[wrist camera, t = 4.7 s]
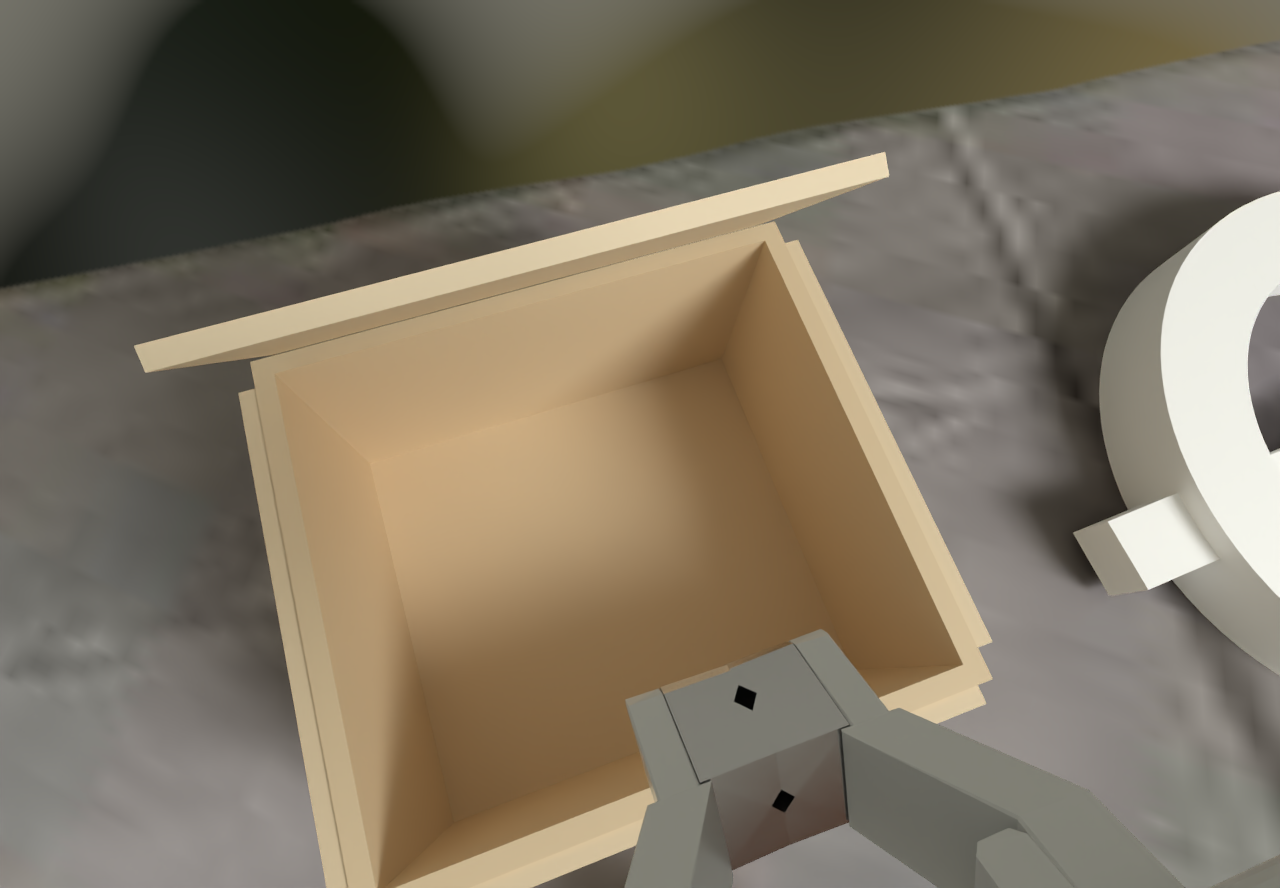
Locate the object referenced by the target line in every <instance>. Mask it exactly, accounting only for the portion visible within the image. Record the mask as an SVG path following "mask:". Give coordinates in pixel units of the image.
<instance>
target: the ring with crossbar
mask: <svg viewBox="0 0 1280 888" xmlns="http://www.w3.org/2000/svg"><path fill="white" fill-rule="evenodd" d="M1274 295H1280V192H1276V193H1273V194H1269V195H1267V196H1264V197H1262V198H1259V199H1256V200H1254V201H1252V202H1250V203H1248V204H1246V205H1244V206H1242V207H1240V208H1238V209H1237V210H1235V211H1233V212H1232V213H1230V214H1229V215H1227V216H1226V217H1224V218H1223V219H1222V220H1220V221H1219V222H1218V223H1216V224H1215V225H1214V226H1212V227H1211V228H1210V229H1208V230H1207V231H1206V232H1204V233H1203V234H1202V235H1200V236H1199V237H1198V238H1196V239H1195V240H1194V241H1192V242H1191V243H1190V244H1188V245H1187V246H1186V247H1184V248H1183V249H1182V250H1180V251H1179V252H1177V253H1176V254H1175V255H1173V256H1172V257H1171V258H1169V259H1168V260H1167V261H1165V262H1164V263H1163V264H1161V265H1160V266H1159V267H1157V268H1156V269H1155V270H1154V271H1153V272H1151V273H1150V274H1149V275H1148V276H1147V277H1146V278H1145V279H1144V280H1143V281H1142V282H1141V283H1140V284H1139V285H1138V286H1137V287H1136V288H1135V290H1134V291H1133V292H1132V293H1131V295H1130V296H1129V297H1128V299H1127V300H1126V302H1125V303H1124V305H1123V306H1122V308H1121V310H1120V312H1119V313H1118V315H1117V317H1116V319H1115V321H1114V324H1113V326H1112V328H1111V331H1110V333H1109V336H1108V339H1107V343H1106V346H1105V350H1104V354H1103V359H1102V365H1101V372H1100V386H1099V404H1100V417H1101V426H1102V432H1103V437H1104V443H1105V447H1106V451H1107V455H1108V459H1109V462H1110V465H1111V469H1112V472H1113V475H1114V478H1115V481H1116V483H1117V486H1118V488H1119V491H1120V493H1121V496H1122V498H1123V500H1124V502H1125V505H1126V507H1127V509H1128V510H1127V511H1125V512H1122V513H1120V514H1117V515H1115V516H1112V517H1110V518H1107V519H1105V520H1103V521H1100V522H1098V523H1095V524H1093V525H1090V526H1088V527H1085V528H1083V529H1081V530H1078V531H1076V532H1073V534H1074V536H1075V538H1076V539H1077V541H1078V543H1079V544H1080V546H1081V548H1082V550H1083V551H1084V553H1085V555H1086V557H1087V558H1088V560H1089V562H1090V563H1091V565H1092V567H1093V569H1094V570H1095V572H1096V574H1097V576H1098V577H1099V579H1100V581H1101V583H1102V584H1103V586H1104V588H1105V589H1106V591H1107V593H1108V595H1109V596H1115V595H1121V594H1127V593H1133V592H1139V591H1145V590H1149V589H1152V588H1154V587H1156V586H1158V585H1161V584H1163V583H1165V582H1168V581H1170V580H1173V582H1174V583H1175V584H1176V585H1177V586H1178V588H1179V589H1180V590H1181V591H1182V592H1183V593H1184V595H1185V596H1186V597H1187V598H1188V599H1189V600H1190V601H1191V602H1192V604H1193V605H1194V606H1195V607H1196V608H1197V609H1198V610H1199V611H1200V612H1201V613H1202V614H1203V615H1204V616H1205V617H1206V618H1207V619H1208V620H1209V621H1210V622H1211V623H1212V624H1213V625H1214V626H1216V627H1217V628H1218V629H1219V630H1220V631H1221V632H1222V633H1223V634H1224V635H1225V636H1227V637H1228V638H1229V639H1230V640H1231V641H1233V642H1234V643H1235V644H1236V645H1237V646H1238V647H1240V648H1241V649H1242V650H1244V651H1245V652H1246V653H1248V654H1249V655H1250V656H1252V657H1253V658H1254V659H1256V660H1257V661H1258V662H1260V663H1261V664H1263V665H1264V666H1266V667H1267V668H1269V669H1270V670H1272V671H1273V672H1275V673H1276V674H1278V675H1279V676H1280V448H1279V449H1277V450H1274V451H1272V452H1269V450H1268V448H1267V446H1266V444H1265V442H1264V439H1263V437H1262V434H1261V432H1260V429H1259V426H1258V423H1257V420H1256V417H1255V414H1254V410H1253V406H1252V402H1251V396H1250V391H1249V383H1248V368H1247V361H1248V348H1249V341H1250V337H1251V332H1252V329H1253V326H1254V323H1255V320H1256V317H1257V315H1258V313H1259V311H1260V309H1261V307H1262V305H1263V304H1264V302H1265V300H1266V299H1267V297H1268V296H1274Z"/></svg>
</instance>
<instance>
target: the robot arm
mask: <svg viewBox="0 0 1280 888" xmlns="http://www.w3.org/2000/svg"><path fill="white" fill-rule="evenodd" d="M625 702H626V707H627V710H628V714H629V717H630V721H631V724H632V728H633V731H634V735H635V738H636V742H637V745H638V749H639V752H640V756H641V759H642V763H643V766H644V769H645V773H646V776H647V780H648V783H649V786H650V790H651V793H652V796H653V799H654V803H652V804H650V805H647V808H646V812H645V816H644V819H643V823H642V826H641V830H640V833H639V837H638V841H637V844H636V848H635V851H634V855H633V858H632V862H631V865H630V869H629V873H628V876H627V880H626V883H625V887H624V888H732V882H733V872H732V870H735V869H737V868H739V867H741V866H744V865H746V864H748V863H750V862H753V861H755V860H757V859H759V858H761V857H764V856H766V855H768V854H770V853H773V852H775V851H777V850H779V849H782V848H784V847H786V846H788V845H791V844H793V843H796V842H799V841H801V840H804V839H807V838H809V837H812V836H815V835H817V834H820V833H822V832H825V831H828V830H830V829H833V828H836V827H838V826H841V825H844V824H846V823H849V826H850V827H852V828H853V829H855V830H856V831H857V832H859V833H860V834H862V835H863V836H865V837H866V838H868V839H869V840H870V841H872V842H873V843H875V844H876V845H878V846H879V847H881V848H882V849H883V850H885V851H886V852H888V853H889V854H891V855H892V856H894V857H895V858H896V859H898V860H899V861H901V862H902V863H904V864H905V865H906V866H908V867H909V868H911V869H912V870H914V871H915V872H917V873H918V874H919V875H921V876H922V877H924V878H925V879H927V880H928V881H930V882H931V883H932V884H934V885H935V886H937V887H938V888H1185V887H1184V886H1183V885H1182V884H1181V883H1180V882H1179V881H1178V880H1177V879H1176V878H1175V877H1174V876H1173V875H1172V874H1171V873H1170V872H1169V871H1168V870H1167V869H1166V868H1165V867H1164V866H1163V865H1162V864H1161V863H1160V862H1159V861H1158V860H1157V859H1156V858H1155V857H1154V856H1153V854H1152V853H1151V852H1150V851H1149V850H1148V849H1147V848H1146V847H1145V846H1144V845H1143V844H1142V843H1141V842H1140V841H1139V840H1138V839H1137V838H1136V837H1135V836H1134V835H1133V834H1132V833H1131V832H1130V831H1129V830H1128V829H1127V828H1126V827H1125V826H1124V825H1123V824H1122V823H1121V822H1120V821H1119V820H1118V819H1117V818H1116V817H1115V816H1114V815H1113V814H1112V813H1111V812H1110V811H1109V810H1108V809H1107V808H1106V807H1105V806H1104V805H1103V804H1102V803H1101V802H1100V801H1099V800H1098V799H1097V798H1096V797H1095V796H1094V795H1093V794H1092V793H1091V792H1090V791H1089V790H1087V789H1085V788H1082V787H1080V786H1078V785H1076V784H1073V783H1071V782H1069V781H1066V780H1064V779H1062V778H1060V777H1057V776H1055V775H1053V774H1050V773H1048V772H1046V771H1043V770H1041V769H1039V768H1037V767H1034V766H1032V765H1030V764H1027V763H1025V762H1023V761H1021V760H1018V759H1016V758H1014V757H1011V756H1009V755H1007V754H1004V753H1002V752H1000V751H998V750H995V749H993V748H991V747H988V746H986V745H984V744H982V743H979V742H977V741H975V740H972V739H970V738H968V737H966V736H963V735H961V734H959V733H956V732H954V731H952V730H949V729H947V728H945V727H943V726H940V725H938V724H936V723H933V722H931V721H929V720H927V719H924V718H922V717H920V716H917V715H915V714H913V713H910V712H908V711H906V710H904V709H901V708H896V709H893V710H891V711H889V710H888V709H887V708H886V706H885V705H884V704H883V703H882V701H881V700H880V699H879V698H878V696H877V695H876V694H875V692H874V691H873V690H872V689H871V687H870V686H869V685H868V684H867V682H866V681H865V680H864V678H863V677H862V676H861V675H860V673H859V672H858V671H857V670H856V668H855V667H854V666H853V665H852V663H851V662H850V661H849V659H848V658H847V657H846V656H845V654H844V653H843V652H842V651H841V649H840V648H839V647H838V645H837V644H836V643H835V642H834V640H833V639H832V638H831V637H830V635H829V634H828V633H827V632H825V631H824V630H822V629H819V630H816V631H814V632H811V633H808V634H806V635H803V636H800V637H797V638H795V639H792V640H789V642H783V643H781V644H778V645H775V646H773V647H770V648H767V649H765V650H762V651H759V652H757V653H754V654H751V655H749V656H746V657H743V658H741V659H738V660H736V661H733V662H730V663H728V664H725V665H724V666H722V667H719V668H716V669H713V670H710V671H707V672H704V673H701V674H698V675H695V676H692V677H689V678H686V679H683V680H680V681H677V682H674V683H671V684H668V685H665V686H662V687H660V689H659V688H658V689H655V690H652V691H649V692H646V693H643V694H640V695H637V696H634V697H631V698H628V699H625ZM1210 888H1280V855H1278V856H1276V857H1274V858H1272V859H1269V860H1267V861H1265V862H1263V863H1261V864H1259V865H1257V866H1255V867H1252V868H1250V869H1248V870H1246V871H1244V872H1242V873H1240V874H1237V875H1235V876H1233V877H1231V878H1229V879H1227V880H1225V881H1223V882H1220V883H1218V884H1216V885H1214V886H1212V887H1210Z"/></svg>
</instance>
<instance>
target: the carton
mask: <svg viewBox="0 0 1280 888" xmlns="http://www.w3.org/2000/svg"><path fill="white" fill-rule="evenodd" d="M250 364H251V369H252V374H253V380H254V385H255V389H251V390H248V391H244V392H240V393H238V394H239V399H240V405H241V411H242V416H243V422H244V428H245V433H246V439H247V444H248V450H249V456H250V461H251V467H252V472H253V478H254V484H255V489H256V495H257V500H258V506H259V512H260V517H261V523H262V528H263V534H264V540H265V545H266V551H267V556H268V562H269V568H270V573H271V579H272V585H273V590H274V596H275V601H276V607H277V613H278V618H279V624H280V629H281V635H282V641H283V646H284V652H285V657H286V663H287V669H288V674H289V680H290V685H291V691H292V697H293V702H294V708H295V713H296V719H297V725H298V730H299V736H300V742H301V747H302V753H303V758H304V764H305V770H306V775H307V781H308V786H309V792H310V798H311V803H312V809H313V814H314V820H315V826H316V831H317V837H318V842H319V848H320V854H321V859H322V865H323V870H324V876H325V882H326V887H327V888H532V887H534V886H537V885H539V884H542V883H544V882H547V881H549V880H552V879H554V878H557V877H559V876H562V875H564V874H567V873H569V872H571V871H574V870H576V869H579V868H581V867H584V866H586V865H589V864H591V863H594V862H596V861H599V860H601V859H604V858H606V857H609V856H611V855H614V854H616V853H618V852H621V851H623V850H626V849H628V848H631V847H633V846H636V844H637V841H638V837H639V833H640V830H641V826H642V823H643V819H644V816H645V812H646V808H647V805H650V804H652V803H654V799H653V796H652V793H651V790H650V786H649V783H648V780H647V776H646V773H645V769H644V766H643V763H642V759H641V756H640V752H639V749H638V745H637V742H636V738H635V735H634V731H633V728H632V724H631V721H630V717H629V714H628V710H627V707H626V702H625V699H628V698H631V697H634V696H637V695H640V694H643V693H646V692H649V691H652V690H655V689H658V688H659V689H660V687H662V686H665V685H668V684H671V683H674V682H677V681H680V680H683V679H686V678H689V677H692V676H695V675H698V674H701V673H704V672H707V671H710V670H713V669H716V668H719V667H722V666H724V665H725V664H728V663H730V662H733V661H736V660H738V659H741V658H743V657H746V656H749V655H751V654H754V653H757V652H759V651H762V650H765V649H767V648H770V647H773V646H775V645H778V644H781V643H783V642H789V640H792V639H795V638H797V637H800V636H803V635H806V634H808V633H811V632H814V631H816V630H819V629H822V630H824V631H825V632H827V633H828V634H829V635H830V637H831V638H832V639H833V640H834V642H835V643H836V644H837V645H838V647H839V648H840V649H841V651H842V652H843V653H844V654H845V656H846V657H847V658H848V659H849V661H850V662H851V663H852V665H853V666H854V667H855V668H856V670H857V671H858V672H859V673H860V675H861V676H862V677H863V678H864V680H865V681H866V682H867V684H868V685H869V686H870V687H871V689H872V690H873V691H874V692H875V694H876V695H877V696H878V698H879V699H880V700H881V701H882V703H883V704H884V705H885V706H886V708H887V709H888V710H889V711H891V710H893V709H896V708H901V709H904V710H906V711H908V712H910V713H913V714H915V715H917V716H920V717H922V718H924V719H927V720H929V721H931V722H933V723H936V724H938V723H940V722H942V721H945V720H947V719H950V718H952V717H955V716H957V715H960V714H962V713H965V712H967V711H970V710H972V709H975V708H977V707H980V706H982V705H984V704H986V702H985V699H984V697H983V695H982V693H981V691H980V689H979V687H978V685H979V684H982V683H984V682H987V681H989V680H992V679H993V678H992V676H991V674H990V672H989V670H988V668H987V666H986V664H985V662H984V659H983V657H982V655H981V653H980V651H979V649H978V647H981V646H983V645H986V644H988V643H991V642H992V640H991V638H990V636H989V633H988V631H987V629H986V627H985V625H984V623H983V621H982V619H981V617H980V615H979V613H978V611H977V609H976V607H975V605H974V602H973V600H972V598H971V596H970V594H969V592H968V590H967V588H966V586H965V584H964V582H963V580H962V578H961V576H960V574H959V572H958V569H957V567H956V565H955V563H954V561H953V559H952V557H951V555H950V553H949V551H948V549H947V547H946V545H945V543H944V541H943V539H942V536H941V534H940V532H939V530H938V528H937V526H936V524H935V522H934V520H933V518H932V516H931V514H930V512H929V510H928V508H927V506H926V503H925V501H924V499H923V497H922V495H921V493H920V491H919V489H918V487H917V485H916V483H915V481H914V479H913V477H912V475H911V473H910V470H909V468H908V466H907V464H906V462H905V460H904V458H903V456H902V454H901V452H900V450H899V448H898V446H897V444H896V442H895V439H894V437H893V435H892V433H891V431H890V429H889V427H888V425H887V423H886V421H885V419H884V417H883V415H882V413H881V411H880V409H879V406H878V404H877V402H876V400H875V398H874V396H873V394H872V392H871V390H870V388H869V386H868V384H867V382H866V380H865V378H864V376H863V373H862V371H861V369H860V367H859V365H858V363H857V361H856V359H855V357H854V355H853V353H852V351H851V349H850V347H849V345H848V343H847V340H846V338H845V336H844V334H843V332H842V330H841V328H840V326H839V324H838V322H837V320H836V318H835V316H834V314H833V312H832V309H831V307H830V305H829V303H828V301H827V299H826V297H825V295H824V293H823V291H822V289H821V287H820V285H819V283H818V281H817V279H816V276H815V274H814V272H813V270H812V268H811V266H810V264H809V262H808V260H807V258H806V256H805V254H804V252H803V250H802V248H801V246H800V243H799V241H798V240H795V241H792V242H788V243H785V242H784V240H783V238H782V236H781V234H780V232H779V230H778V228H777V226H776V224H775V221H774V222H771V223H767V224H763V225H759V226H756V227H752V228H748V229H744V230H741V231H737V232H733V233H730V234H726V235H722V236H718V237H715V238H711V239H707V240H703V241H700V242H696V243H692V244H688V245H685V246H681V247H677V248H673V249H670V250H666V251H662V252H659V253H655V254H651V255H647V256H644V257H640V258H636V259H632V260H629V261H625V262H621V263H617V264H614V265H610V266H606V267H603V268H599V269H595V270H591V271H588V272H584V273H580V274H576V275H573V276H569V277H565V278H561V279H558V280H554V281H550V282H547V283H543V284H539V285H535V286H532V287H528V288H524V289H520V290H517V291H513V292H509V293H505V294H502V295H498V296H494V297H491V298H487V299H483V300H479V301H476V302H472V303H468V304H464V305H461V306H457V307H453V308H449V309H446V310H442V311H438V312H435V313H431V314H427V315H423V316H420V317H416V318H412V319H408V320H405V321H401V322H397V323H393V324H390V325H386V326H382V327H379V328H375V329H371V330H367V331H364V332H360V333H356V334H352V335H349V336H345V337H341V338H337V339H334V340H330V341H326V342H323V343H319V344H315V345H311V346H308V347H304V348H300V349H296V350H293V351H289V352H285V353H281V354H278V355H274V356H270V357H267V358H263V359H259V360H255V361H252V362H250Z"/></svg>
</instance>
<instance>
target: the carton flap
mask: <svg viewBox="0 0 1280 888" xmlns="http://www.w3.org/2000/svg"><path fill="white" fill-rule="evenodd" d="M886 177H889V172H888V166H887V160H886V154H885V152H883V153H879V154H875V155H871V156H867V157H864V158H860V159H856V160H852V161H848V162H844V163H840V164H836V165H833V166H829V167H825V168H821V169H817V170H813V171H809V172H805V173H802V174H798V175H794V176H790V177H786V178H782V179H778V180H774V181H771V182H767V183H763V184H759V185H755V186H751V187H747V188H743V189H740V190H736V191H732V192H728V193H724V194H720V195H716V196H712V197H709V198H705V199H701V200H697V201H693V202H689V203H685V204H681V205H677V206H674V207H670V208H666V209H662V210H658V211H654V212H650V213H646V214H643V215H639V216H635V217H631V218H627V219H623V220H619V221H615V222H612V223H608V224H604V225H600V226H596V227H592V228H588V229H584V230H581V231H577V232H573V233H569V234H565V235H561V236H557V237H553V238H550V239H546V240H542V241H538V242H534V243H530V244H526V245H522V246H519V247H515V248H511V249H507V250H503V251H499V252H495V253H491V254H488V255H484V256H480V257H476V258H472V259H468V260H464V261H460V262H457V263H453V264H449V265H445V266H441V267H437V268H433V269H429V270H426V271H422V272H418V273H414V274H410V275H406V276H402V277H398V278H395V279H391V280H387V281H383V282H379V283H375V284H371V285H367V286H364V287H360V288H356V289H352V290H348V291H344V292H340V293H336V294H333V295H329V296H325V297H321V298H317V299H313V300H309V301H305V302H302V303H298V304H294V305H290V306H286V307H282V308H278V309H274V310H271V311H267V312H263V313H259V314H255V315H251V316H247V317H243V318H239V319H236V320H232V321H228V322H224V323H220V324H216V325H212V326H208V327H205V328H201V329H197V330H193V331H189V332H185V333H181V334H177V335H174V336H170V337H166V338H162V339H158V340H154V341H150V342H146V343H143V344H139V345H135V346H134V347H135V350H136V352H137V354H138V357H139V359H140V361H141V364H142V366H143V368H144V371H145V373H148V372H155V371H162V370H170V369H177V368H184V367H191V366H198V365H205V364H212V363H219V362H227V361H234V360H241V359H248V358H255V357H262V356H269V355H275V354H279V353H282V352H286V351H290V350H294V349H297V348H301V347H305V346H308V345H312V344H316V343H320V342H323V341H327V340H331V339H335V338H338V337H342V336H346V335H350V334H353V333H357V332H361V331H365V330H368V329H372V328H376V327H379V326H383V325H387V324H391V323H394V322H398V321H402V320H406V319H409V318H413V317H417V316H421V315H424V314H428V313H432V312H436V311H439V310H443V309H447V308H450V307H454V306H458V305H462V304H465V303H469V302H473V301H477V300H480V299H484V298H488V297H492V296H495V295H499V294H503V293H506V292H510V291H514V290H518V289H521V288H525V287H529V286H533V285H536V284H540V283H544V282H548V281H551V280H555V279H559V278H563V277H566V276H570V275H574V274H577V273H581V272H585V271H589V270H592V269H596V268H600V267H604V266H607V265H611V264H615V263H619V262H622V261H626V260H630V259H634V258H637V257H641V256H645V255H648V254H652V253H656V252H660V251H663V250H667V249H671V248H675V247H678V246H682V245H686V244H690V243H693V242H697V241H701V240H704V239H708V238H712V237H716V236H719V235H723V234H727V233H731V232H734V231H738V230H742V229H746V228H749V227H753V226H757V225H760V224H762V223H765V222H768V221H771V220H773V219H776V218H779V217H781V216H784V215H787V214H789V213H792V212H795V211H797V210H800V209H803V208H805V207H808V206H811V205H814V204H816V203H819V202H822V201H824V200H827V199H830V198H832V197H835V196H838V195H840V194H843V193H846V192H848V191H851V190H854V189H857V188H859V187H862V186H865V185H867V184H870V183H873V182H875V181H878V180H881V179H883V178H886Z"/></svg>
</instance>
